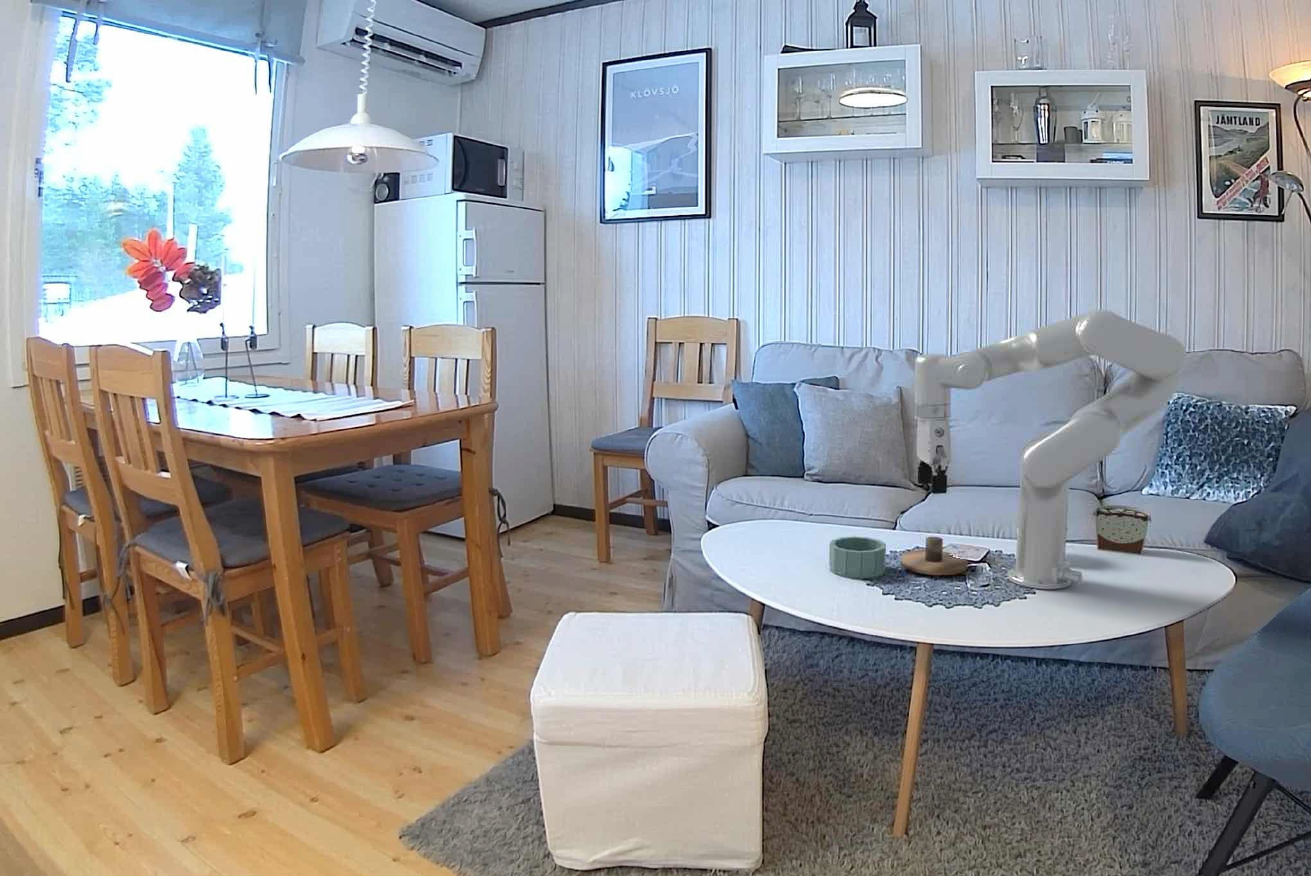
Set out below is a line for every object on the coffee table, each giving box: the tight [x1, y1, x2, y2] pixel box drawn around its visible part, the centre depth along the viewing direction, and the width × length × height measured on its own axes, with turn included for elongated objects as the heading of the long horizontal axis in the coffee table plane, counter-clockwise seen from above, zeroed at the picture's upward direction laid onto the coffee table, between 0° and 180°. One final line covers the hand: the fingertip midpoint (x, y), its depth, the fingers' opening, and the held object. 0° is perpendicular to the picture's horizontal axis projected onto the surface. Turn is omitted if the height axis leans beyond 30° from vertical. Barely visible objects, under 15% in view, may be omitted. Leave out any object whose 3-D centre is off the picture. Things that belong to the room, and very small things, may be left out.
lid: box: [899, 536, 969, 576], centre depth 204 cm, size 14×14×7 cm
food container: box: [1092, 504, 1152, 556], centre depth 215 cm, size 12×6×10 cm, turn 58°
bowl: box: [828, 536, 887, 580], centre depth 204 cm, size 12×12×6 cm
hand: (931, 488), depth 201 cm, fingers open, 9 cm apart
